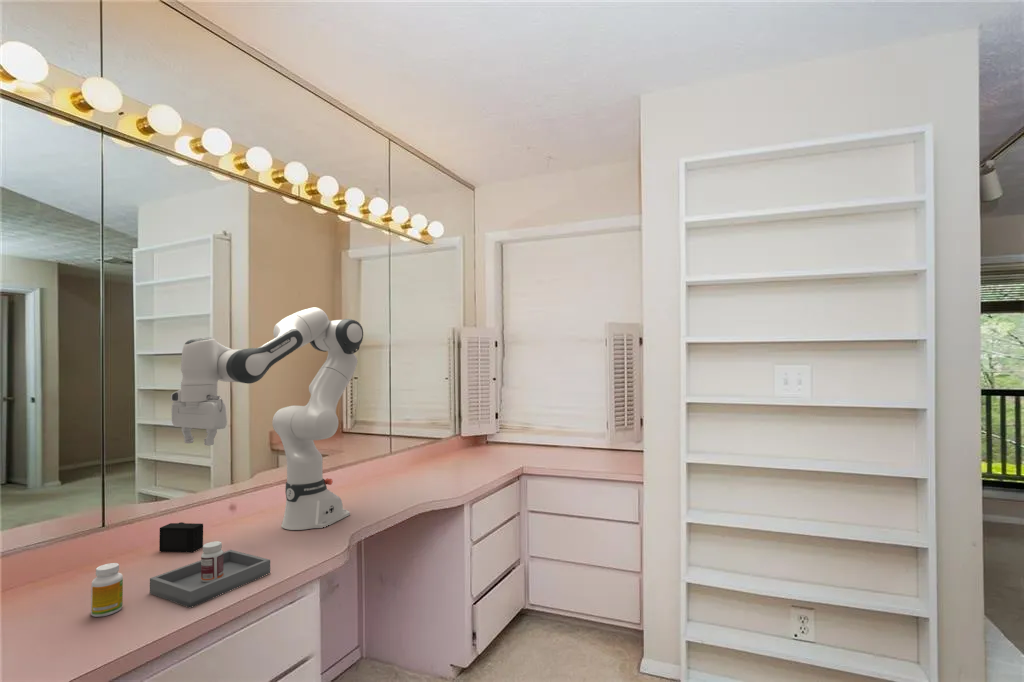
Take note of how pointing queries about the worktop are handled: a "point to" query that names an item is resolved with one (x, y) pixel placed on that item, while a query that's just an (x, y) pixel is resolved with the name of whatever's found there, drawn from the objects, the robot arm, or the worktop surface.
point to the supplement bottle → (107, 590)
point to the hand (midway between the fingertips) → (198, 444)
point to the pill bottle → (212, 562)
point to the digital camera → (181, 537)
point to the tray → (192, 591)
